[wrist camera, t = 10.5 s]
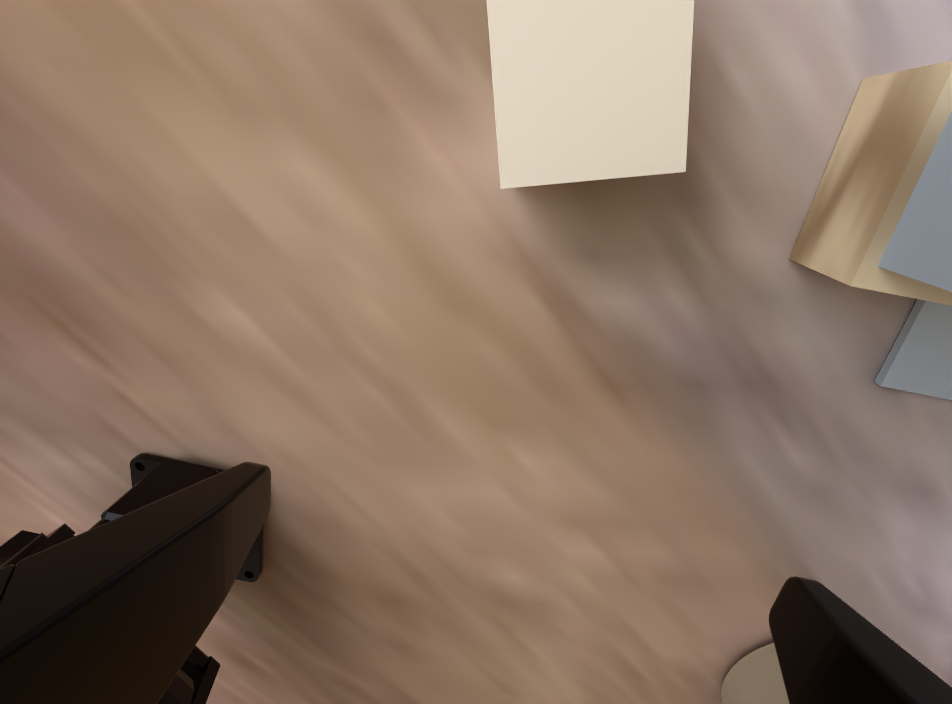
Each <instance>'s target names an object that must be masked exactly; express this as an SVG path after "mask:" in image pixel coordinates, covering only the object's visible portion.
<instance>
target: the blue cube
mask: <svg viewBox="0 0 952 704" xmlns="http://www.w3.org/2000/svg"><path fill="white" fill-rule="evenodd" d="M878 267H881V268H884V269H887V270H890V271H893V272H896V273H899V274H901V275H904V276H907V277H910V278H913V279H916V280H919V281H922V282H925V283H927V284H930V285H933V286H936V287H939V288H942V289H945V290H948V291H950V292H952V112H951V114H950V116H949V118H948V120H947V122H946V124H945V126H944V128H943V130H942V132H941V135H940V137H939V139H938V141H937V143H936V145H935V147H934V149H933V151H932V153H931V155H930V157H929V160H928V162H927V164H926V166H925V168H924V170H923V172H922V174H921V176H920V178H919V180H918V182H917V185H916V187H915V189H914V191H913V193H912V195H911V197H910V199H909V201H908V203H907V205H906V208H905V210H904V212H903V214H902V216H901V218H900V220H899V222H898V224H897V226H896V228H895V230H894V233H893V235H892V237H891V239H890V241H889V243H888V245H887V247H886V249H885V251H884V253H883V255H882V258H881V260H880V262H879V264H878Z"/></svg>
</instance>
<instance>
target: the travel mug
mask: <svg viewBox="0 0 952 704" xmlns="http://www.w3.org/2000/svg"><path fill="white" fill-rule="evenodd" d="M721 702H722V704H789V701H788V697H787V693H786V689H785V685H784V681H783V677H782V673H781V669H780V665H779V661H778V657H777V653H776V649H775V645H774V643H771V644H769V645H766V646H763V647H761V648H759V649H757V650H755V651H753V652H751V653H749V654H748V655H746V656H745V657H743V658H742V659H741V660H740V661H738V662H737V663H736V664H735V665H734V666H733V667H732V668H731V670H730V671H729V672H728V674H727V675H726V677H725V679H724V681H723V684H722V689H721Z"/></svg>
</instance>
